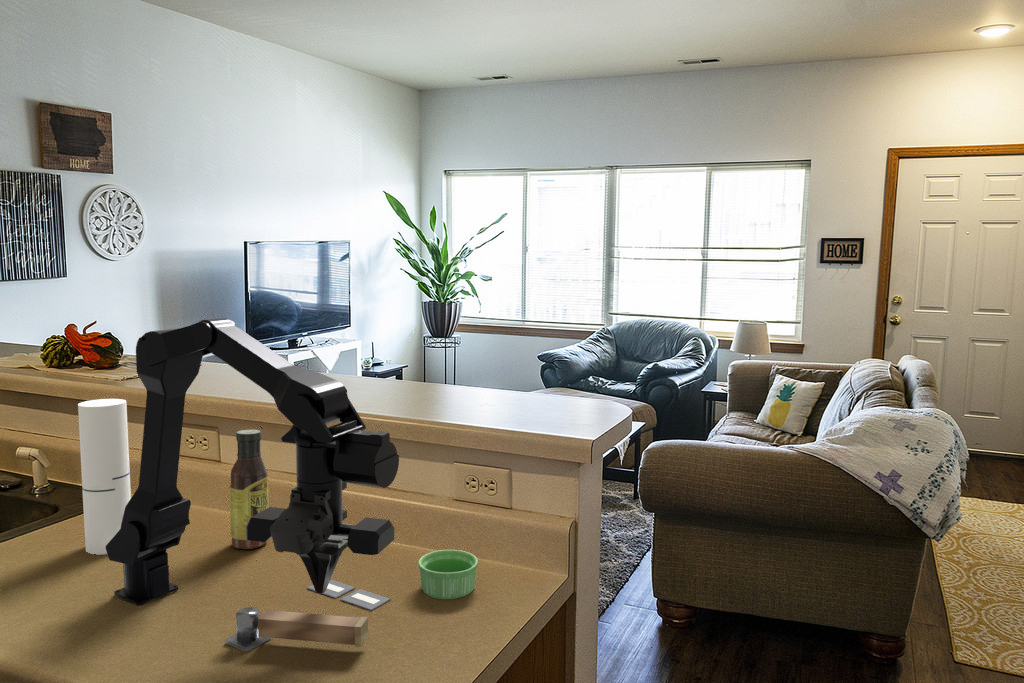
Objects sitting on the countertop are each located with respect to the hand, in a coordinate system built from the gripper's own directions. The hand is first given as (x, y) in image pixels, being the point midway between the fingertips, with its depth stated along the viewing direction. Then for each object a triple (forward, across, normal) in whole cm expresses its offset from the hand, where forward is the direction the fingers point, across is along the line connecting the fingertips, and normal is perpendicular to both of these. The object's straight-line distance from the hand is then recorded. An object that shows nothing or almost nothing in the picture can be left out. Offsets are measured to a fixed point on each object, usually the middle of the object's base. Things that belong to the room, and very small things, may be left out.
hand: (321, 592), depth 99 cm
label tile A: (+6, -5, +13) cm, 15 cm away
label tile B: (+6, +1, +10) cm, 12 cm away
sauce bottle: (+6, -27, +25) cm, 37 cm away
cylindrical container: (+6, -50, +17) cm, 53 cm away
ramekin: (+6, +12, +18) cm, 22 cm away
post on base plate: (+6, -8, -4) cm, 11 cm away
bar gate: (+4, +1, -3) cm, 6 cm away
